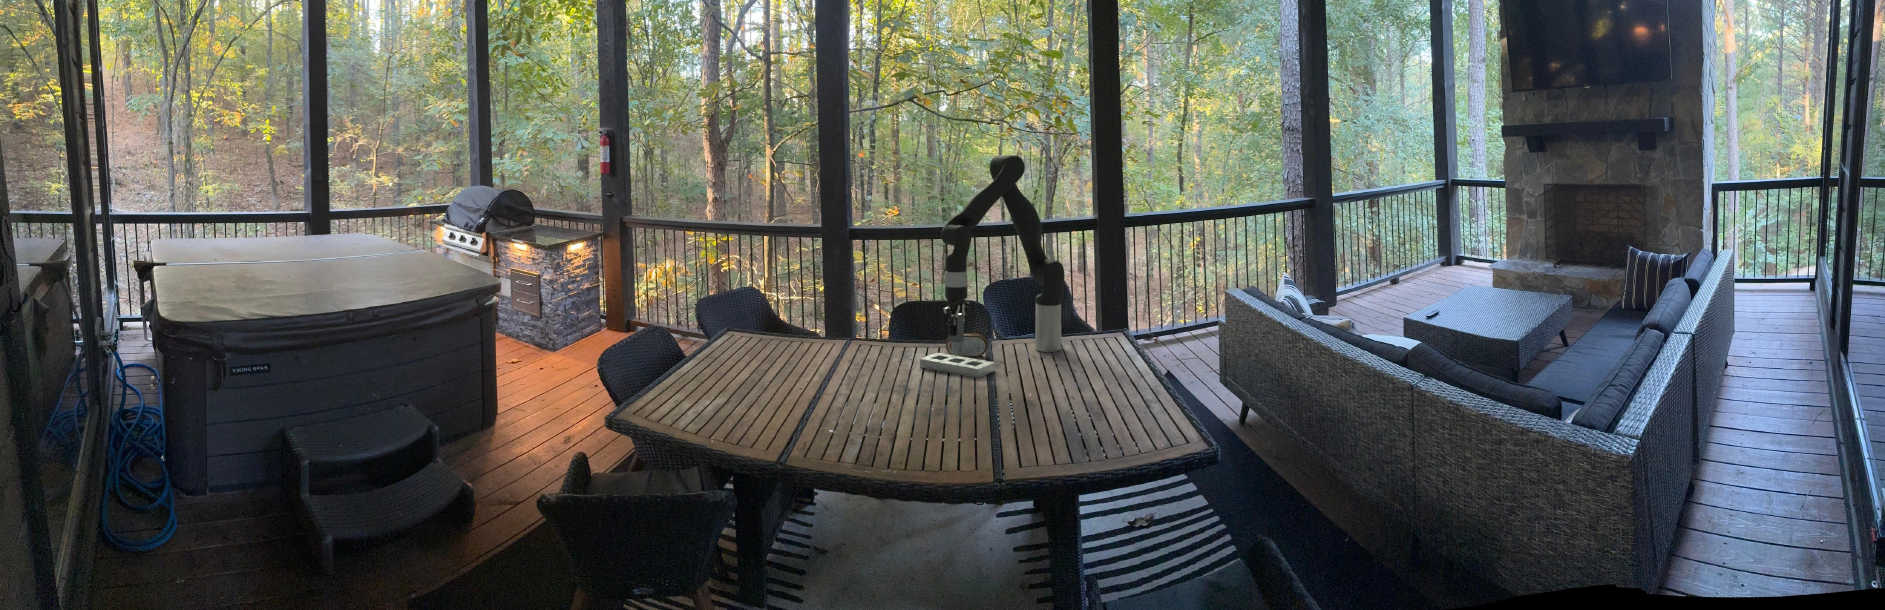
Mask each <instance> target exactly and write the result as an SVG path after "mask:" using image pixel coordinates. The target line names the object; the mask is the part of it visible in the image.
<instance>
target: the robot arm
mask: <svg viewBox="0 0 1885 610" xmlns="http://www.w3.org/2000/svg"><path fill="white" fill-rule="evenodd" d="M1025 170H1026V166H1025V161H1024V160H1023V158H1022V157H1020V156H1019V155H1016V154H1001V155H996V156H993V157H992V158H991V160H990V162H989V173H990V176H991V178H992V182H991V183H989V184H988V185H987V186H986V187H984V188H983V189H982V190H980V191H979V192H978V193H976V194H975V195H974V196H973V197H972V198H970V199H969V201H968V202H967V203H966V204H965V206H963V209H962V210H961V211H960V212H959V213H958V214H956V215H955V216H953V217H952V218H951V219H950V220H949V221H948V222H947V223H945V225H944V226H943V228H942V229H941V232H940V239H941V241H942V242H943V243H944V244H945V245H948V246H953V250H952V252H950V253H948V254H946V256H945V274H944V297H945V299H946V300H947V304H946V307H942V309H941V312H942V315H943V320H944V324H946V325H948V334H949V333H950V336H956V319H957V317H958V314H960V315H964V322H965V321H967V320H968V319H969V318H968V317H969V312H970V308H971V302H969V301H968V302H966V299H967V298H968V272H967V271H968V270H967V268H968V267H967V266H968V264H967V263H968V262H967V259H968V255H969V251H970V247H971V244H972V234H971V230H970V229H972V228H975V227H977V226H978V225H979V223H980V222H981V221H982V220H983V218H984V217H985V216H986V214H987V213H988V212H989V210H990V209H991V208H992V207H993V206H994V205H995V204H996V203H997V202H998V201H999V199H1001V197H1002V200H1003V202H1004V204H1005V206H1006V209H1007V211H1008V214H1009V215H1010V218H1011V221H1012V224H1013V226H1014V229H1015V231H1016V234H1017V236H1018V238H1019V240H1020V243H1021V246H1022V248H1023V251H1024V253H1025V256H1026V260H1027V263H1028V267H1029V271H1030V274H1031V276H1032V278H1033V280H1034V281H1035V282H1036V283H1038V284H1041V285H1043V287H1042V288H1043V289H1042V292H1041V293H1039V294H1037V295H1036V296H1035V334H1034V335H1035V338H1034V339H1035V340H1034V341H1035V342H1034V343H1035V346H1034V347H1035V348H1034V349H1035V350H1036V351H1037V352H1042V353H1043V352H1045V353H1056V352H1059V351H1061V348H1062V299H1063V296H1064V289H1065V274H1066V273H1065V268H1064V265H1063V263H1061V262H1060V261H1058V260H1054V259H1053V260H1052V259H1049V258H1048V257H1047V256H1046V254H1045V251H1044V248H1043V245H1042V237H1043V236H1042V233H1043V226H1042V225H1043V224H1042V222H1041V219H1040V217H1039V214H1038V211H1037V210H1036V207H1035V206H1034V205H1033V204H1032V202H1031V201H1030V200H1029V199H1028V198H1027V197H1026V196H1025V195H1024V194H1023V193H1022V191H1021V190H1020V188H1019V187H1018V185H1017V183H1018V182H1019V180H1021V178H1022V177H1023V176H1024V173H1025ZM952 315H955V316H952ZM952 318H953V320H952Z"/></svg>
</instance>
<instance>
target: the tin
mask: <svg viewBox="0 0 1885 610" xmlns="http://www.w3.org/2000/svg"><path fill="white" fill-rule="evenodd" d="M988 347H989V342H988V339H987V337H985V336H984V335H983V334H980V333H975V332H974V333H972V332H970V333H969V332H964V341H962V342H959V343H955V342H949V336H948V337H947V338H946V341H945V348H946V352H947V354H948V355H954V356H960V357H966V358H979V357H982V356H983V355H985V353H986V352H987V350H988Z"/></svg>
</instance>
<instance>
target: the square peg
mask: <svg viewBox="0 0 1885 610" xmlns="http://www.w3.org/2000/svg"><path fill="white" fill-rule="evenodd" d="M951 315H952V314H951ZM952 316H955V315H952ZM964 316H965V315H960V314H958V317H957V319H956V336H950V333H949V332H948V337H949V342H955V343H959V342H962V341H964V333H965V326H964V325H965V324H964V323H965V321H964ZM952 320H953V318H952Z"/></svg>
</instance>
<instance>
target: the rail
mask: <svg viewBox="0 0 1885 610" xmlns="http://www.w3.org/2000/svg"><path fill="white" fill-rule="evenodd" d="M995 365H996V363H995V361H990V360H989V361H988V360H984V359H976V358H973V357H960V356H954V355H951V354H949V353H940V352H935V353H932V354H930V355H926V356H924V357H920V358H919V367H920V368H922V369H926V370H927V369H929V370H931V371H932V370H933V371H937V372H944V373H950V374H955V375H961V376H966V377H971V378H976V379H977V378H978V379H979V378H982V377H984V376H986V375H989V374H991V373H993V372H995V369H996V366H995Z"/></svg>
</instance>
